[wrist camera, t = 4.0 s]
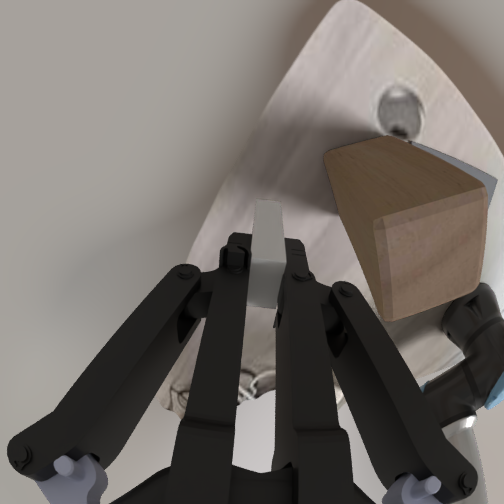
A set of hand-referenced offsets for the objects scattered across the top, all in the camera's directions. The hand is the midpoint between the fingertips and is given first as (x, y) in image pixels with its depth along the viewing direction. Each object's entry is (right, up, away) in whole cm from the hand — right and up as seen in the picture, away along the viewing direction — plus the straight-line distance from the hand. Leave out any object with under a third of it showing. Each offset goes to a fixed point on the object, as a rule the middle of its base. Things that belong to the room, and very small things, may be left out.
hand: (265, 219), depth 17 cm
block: (+14, +8, +15) cm, 22 cm away
